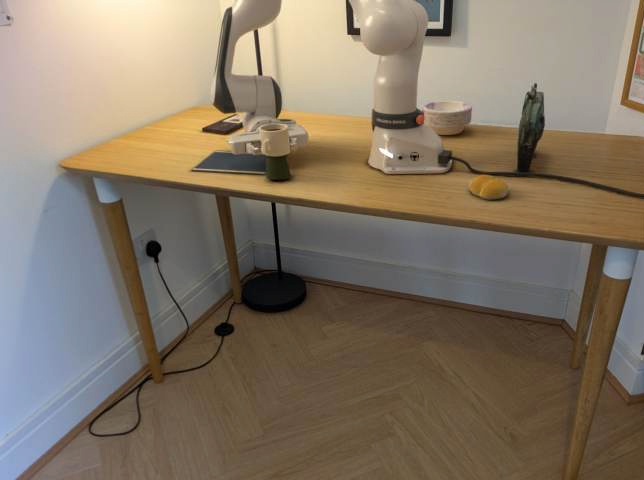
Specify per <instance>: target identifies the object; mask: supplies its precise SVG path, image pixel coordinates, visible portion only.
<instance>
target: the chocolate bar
mask: <svg viewBox="0 0 644 480" xmlns="http://www.w3.org/2000/svg"><path fill="white" fill-rule="evenodd" d="M242 118H243V114H240V113H239V114H238V113H233V114H232V115H230V116H227V117H225V118H222V119H220V120H218V121H216V122H215V121H214V122H213V123H211V124H209V125H206V126H204V127H202V128H201V131H202V132H206V133H211V134H212V133H214V134H221V135H228V134H230V133H232V132H234V131H237V130H238V129H241V128H243V123H242Z"/></svg>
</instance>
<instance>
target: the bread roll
mask: <svg viewBox="0 0 644 480" xmlns="http://www.w3.org/2000/svg"><path fill="white" fill-rule="evenodd" d="M468 185H469V187H468V188H469V191H470V192H471V193H472V195H474V196H477V197H480V198H481V199H484V200H501V199H503V198H505V197H506V196H507V195H508V193H509V185H508V184H507V182H506V181H504V180H503V179H496V178H495V177H494V176H493V175H485V174H479V175H478V176H476V177H475V178H474V179H472V180H471V181H470V182H469V184H468Z"/></svg>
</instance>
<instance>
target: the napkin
mask: <svg viewBox="0 0 644 480" xmlns="http://www.w3.org/2000/svg"><path fill="white" fill-rule="evenodd" d="M266 158H267V155H265V154H263V153H262V152H259V155H253V154H251V153H248V154H240V155H235V154H233V153H232V150H215V151H214V152H213V153H211V154H210V155H209V156H208V157H206V158H205V159H204V160H202V161H201V162H200V163H199V164H198V165H196V166H195V167H193V168H192V169H191V172H201V173H218V174H219V173H220V174H234V175H235V174H237V175H254V176H255V175H256V176H265V175H266Z"/></svg>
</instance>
